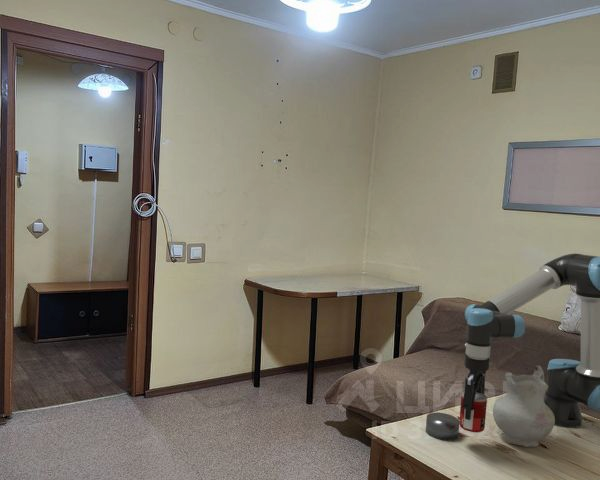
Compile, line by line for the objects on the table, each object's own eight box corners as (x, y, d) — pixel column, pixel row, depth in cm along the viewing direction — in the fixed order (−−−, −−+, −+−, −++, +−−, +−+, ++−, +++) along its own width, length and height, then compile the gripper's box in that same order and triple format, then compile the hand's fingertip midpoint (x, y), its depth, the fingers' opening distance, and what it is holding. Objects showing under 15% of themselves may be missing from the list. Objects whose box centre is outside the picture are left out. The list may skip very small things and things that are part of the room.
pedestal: (462, 432, 180) (464, 419, 180) (451, 443, 171) (452, 429, 171) (432, 423, 187) (433, 409, 186) (420, 433, 178) (421, 419, 178)
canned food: (486, 434, 166) (488, 401, 165) (460, 431, 167) (462, 398, 166) (482, 424, 173) (485, 392, 172) (457, 421, 175) (460, 389, 174)
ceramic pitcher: (502, 423, 193) (503, 357, 192) (560, 436, 182) (561, 366, 181) (486, 444, 175) (486, 371, 174) (548, 459, 164) (549, 382, 163)
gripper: (475, 347, 179) (470, 411, 181) (455, 360, 162) (449, 431, 164) (498, 352, 174) (492, 417, 176) (479, 366, 158) (473, 438, 160)
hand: (472, 424), depth 170 cm, fingers closed on canned food, 8 cm apart
